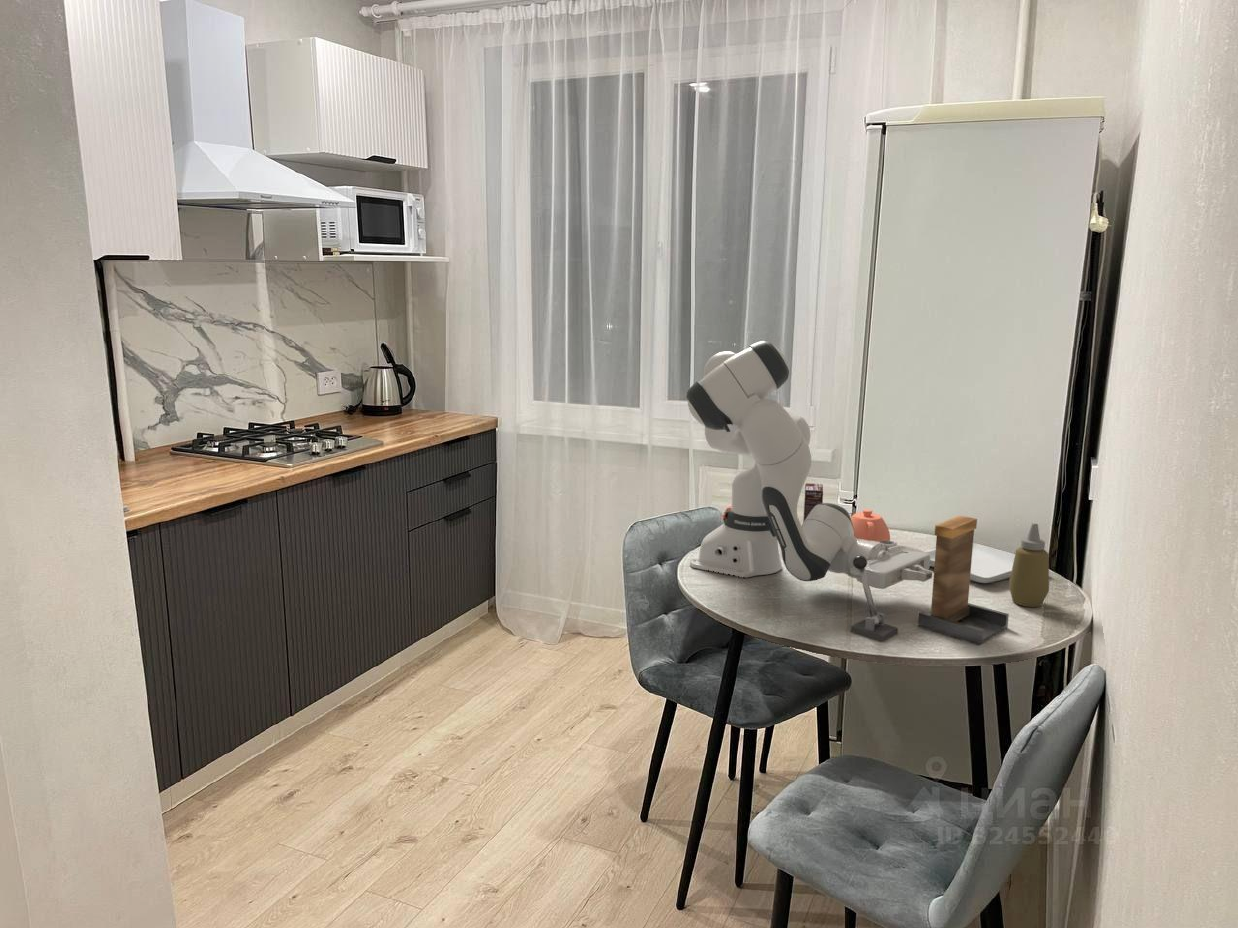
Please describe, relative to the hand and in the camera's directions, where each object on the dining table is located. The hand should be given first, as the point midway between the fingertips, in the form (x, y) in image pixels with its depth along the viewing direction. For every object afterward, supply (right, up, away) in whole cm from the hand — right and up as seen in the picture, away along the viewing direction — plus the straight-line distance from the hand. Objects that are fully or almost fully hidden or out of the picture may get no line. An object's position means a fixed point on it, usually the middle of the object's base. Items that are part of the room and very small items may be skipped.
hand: (928, 576), depth 185 cm
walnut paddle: (+4, -8, -1) cm, 9 cm away
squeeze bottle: (+25, -7, +10) cm, 28 cm away
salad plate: (+23, -3, +32) cm, 40 cm away
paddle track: (+6, -10, -3) cm, 12 cm away
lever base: (-13, -11, -6) cm, 18 cm away
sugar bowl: (+1, +1, +49) cm, 49 cm away
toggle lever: (-13, -8, -7) cm, 17 cm away
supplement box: (-13, +2, +53) cm, 55 cm away
